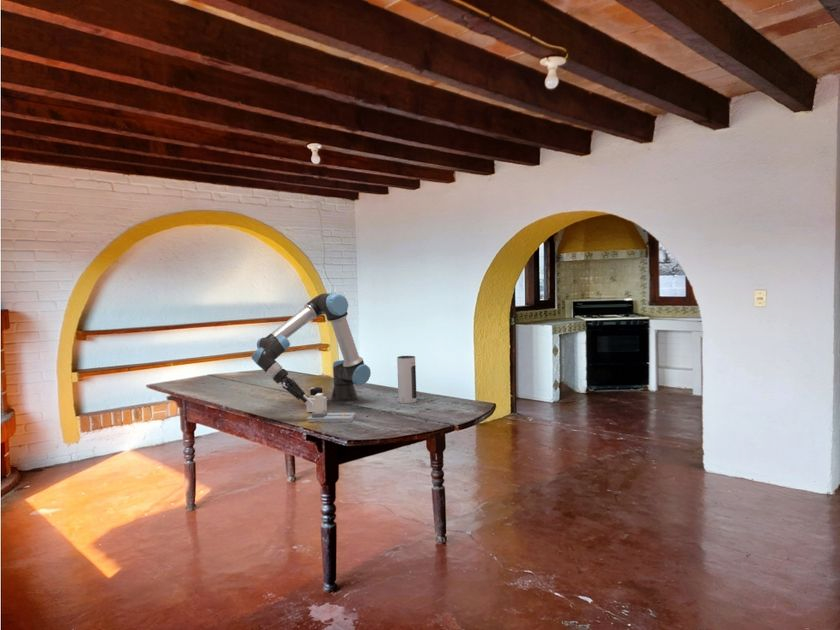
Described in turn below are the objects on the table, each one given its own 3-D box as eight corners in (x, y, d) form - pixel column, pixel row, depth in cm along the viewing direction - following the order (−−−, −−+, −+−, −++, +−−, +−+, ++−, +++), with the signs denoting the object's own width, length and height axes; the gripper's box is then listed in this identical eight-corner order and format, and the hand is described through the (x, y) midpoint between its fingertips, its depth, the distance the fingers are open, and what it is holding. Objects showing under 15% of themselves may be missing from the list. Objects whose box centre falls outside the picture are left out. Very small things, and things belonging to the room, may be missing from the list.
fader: (315, 413, 300) (315, 392, 300) (327, 413, 300) (326, 392, 299) (311, 416, 292) (311, 396, 292) (323, 416, 292) (322, 395, 291)
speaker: (409, 404, 325) (408, 357, 324) (394, 402, 331) (393, 356, 329) (420, 401, 334) (419, 355, 332) (405, 399, 340) (403, 354, 338)
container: (327, 411, 315) (326, 386, 314) (317, 414, 308) (316, 389, 307) (316, 409, 319) (315, 385, 318) (306, 412, 312) (305, 388, 311)
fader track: (313, 416, 302) (313, 412, 302) (355, 416, 301) (355, 412, 301) (306, 422, 291) (306, 418, 290) (350, 422, 289) (350, 418, 289)
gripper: (276, 376, 303) (309, 408, 303) (268, 380, 290) (302, 414, 290) (286, 365, 302) (319, 397, 302) (278, 370, 289) (313, 403, 289)
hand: (311, 405), depth 296 cm, fingers closed
